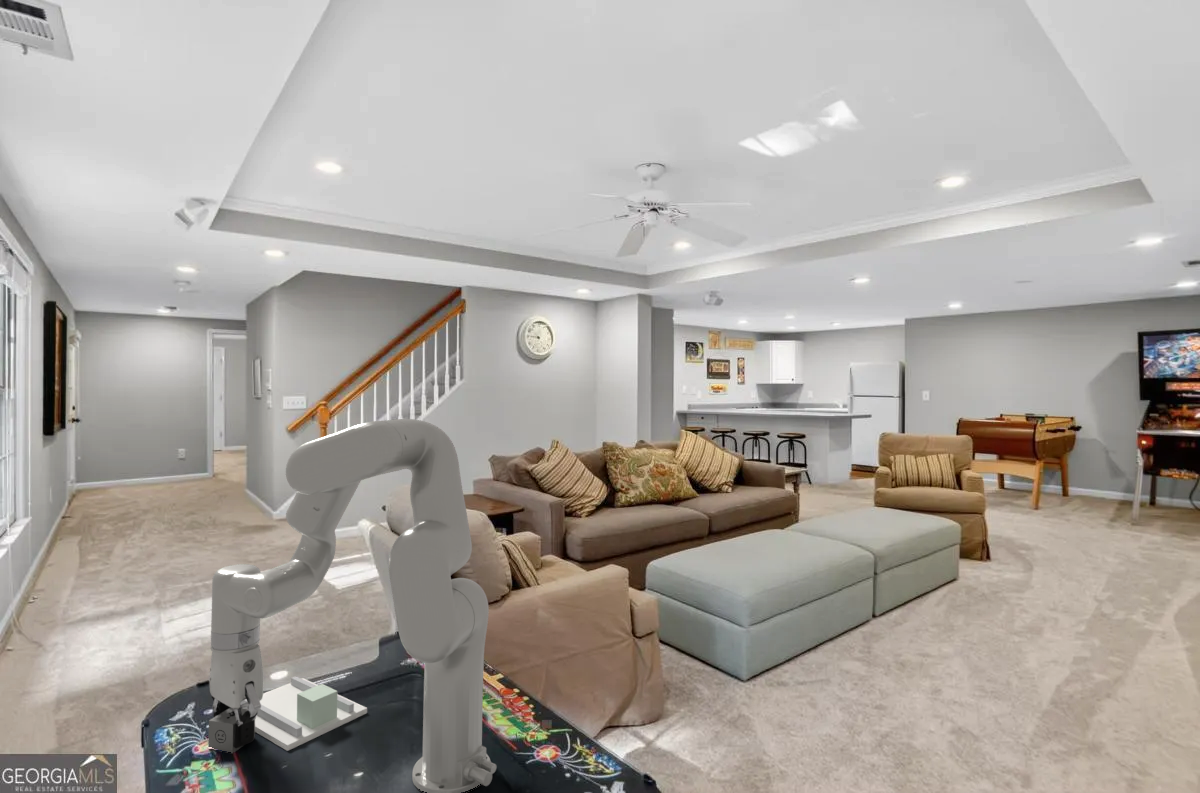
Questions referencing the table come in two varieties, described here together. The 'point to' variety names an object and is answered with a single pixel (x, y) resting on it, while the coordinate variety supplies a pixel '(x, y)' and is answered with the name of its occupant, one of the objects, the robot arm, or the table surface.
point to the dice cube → (224, 730)
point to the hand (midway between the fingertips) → (233, 736)
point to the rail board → (290, 712)
